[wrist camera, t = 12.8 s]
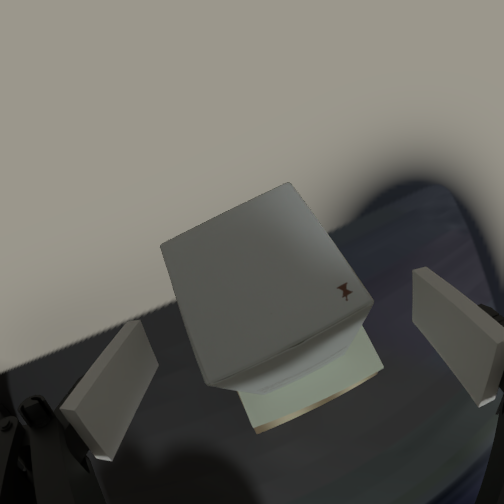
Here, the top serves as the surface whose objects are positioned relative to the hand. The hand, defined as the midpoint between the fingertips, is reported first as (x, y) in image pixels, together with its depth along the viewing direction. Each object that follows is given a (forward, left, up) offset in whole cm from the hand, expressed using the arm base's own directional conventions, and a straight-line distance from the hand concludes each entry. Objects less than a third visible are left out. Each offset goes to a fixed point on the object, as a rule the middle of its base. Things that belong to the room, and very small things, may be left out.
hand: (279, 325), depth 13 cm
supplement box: (-1, +2, -11) cm, 11 cm away
